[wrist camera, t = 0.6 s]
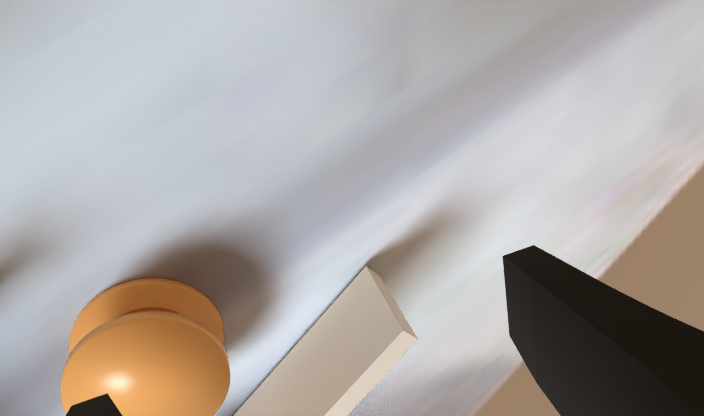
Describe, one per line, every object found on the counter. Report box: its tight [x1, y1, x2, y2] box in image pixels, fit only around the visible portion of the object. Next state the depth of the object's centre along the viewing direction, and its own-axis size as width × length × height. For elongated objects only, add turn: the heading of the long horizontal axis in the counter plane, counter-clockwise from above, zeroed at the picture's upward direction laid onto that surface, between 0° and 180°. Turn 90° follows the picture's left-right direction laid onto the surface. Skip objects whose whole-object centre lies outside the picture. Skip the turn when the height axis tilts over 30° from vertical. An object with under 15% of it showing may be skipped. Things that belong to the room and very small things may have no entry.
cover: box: [233, 267, 418, 416], centre depth 21 cm, size 1×11×4 cm, turn 137°
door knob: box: [60, 278, 230, 416], centre depth 20 cm, size 5×5×2 cm
